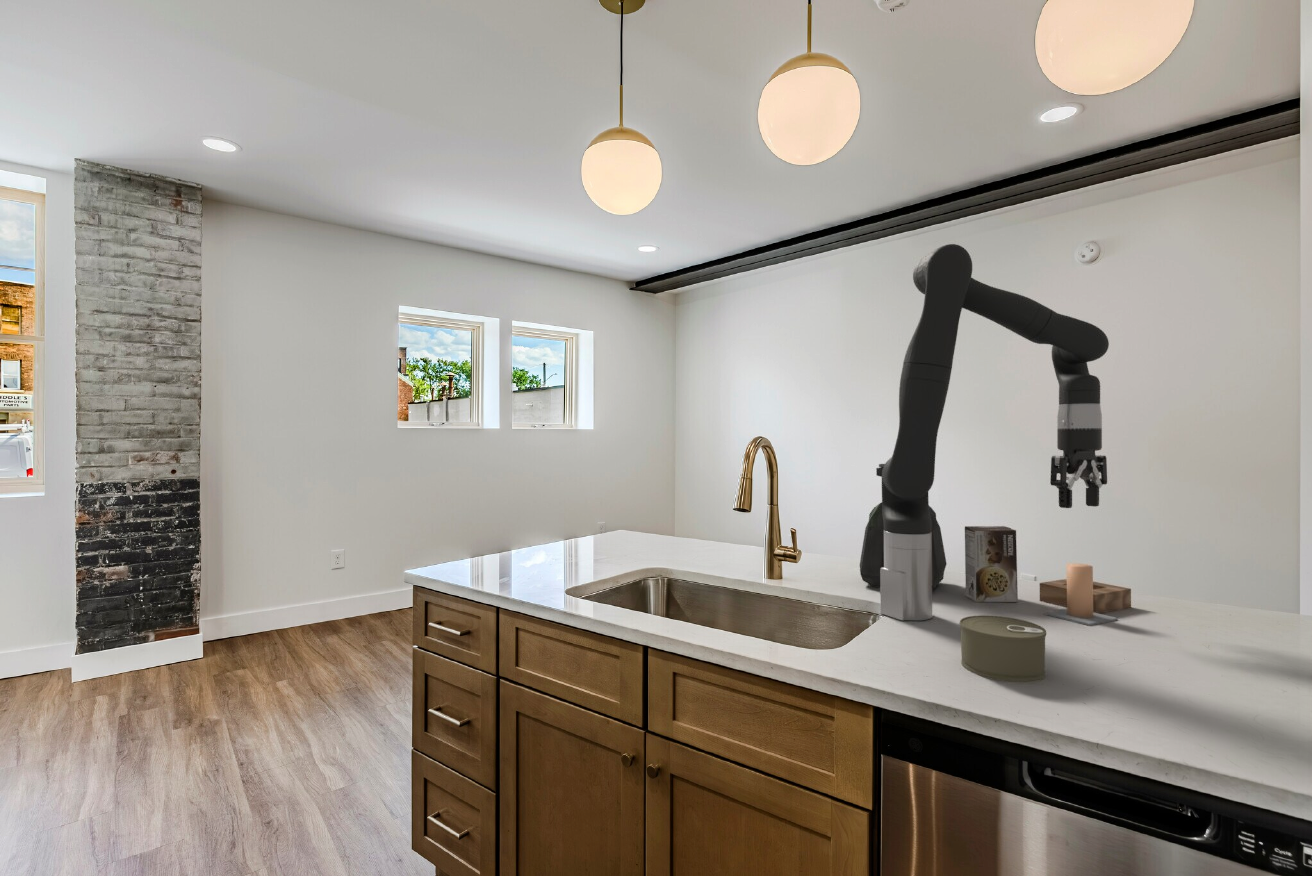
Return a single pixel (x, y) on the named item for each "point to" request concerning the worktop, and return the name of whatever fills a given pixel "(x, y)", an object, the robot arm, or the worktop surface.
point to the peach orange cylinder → (1080, 590)
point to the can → (1003, 648)
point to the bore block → (1103, 595)
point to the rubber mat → (1086, 621)
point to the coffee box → (991, 564)
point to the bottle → (875, 547)
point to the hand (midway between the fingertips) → (1079, 507)
